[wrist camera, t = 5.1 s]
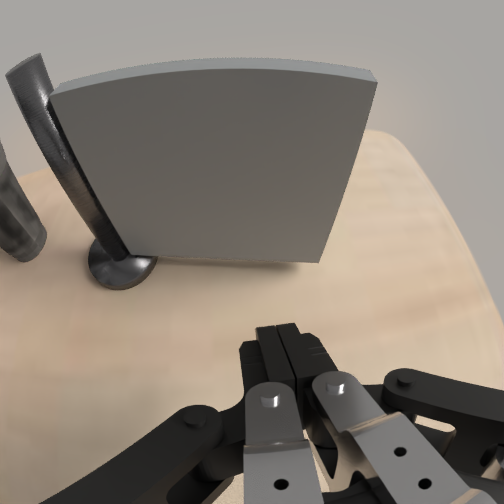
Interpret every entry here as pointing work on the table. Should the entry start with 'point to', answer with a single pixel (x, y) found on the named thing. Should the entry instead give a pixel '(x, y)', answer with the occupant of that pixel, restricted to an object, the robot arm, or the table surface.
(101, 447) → the table surface
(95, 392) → the table surface
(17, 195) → the beverage cup
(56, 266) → the table surface
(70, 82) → the door
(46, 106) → the hinge post
